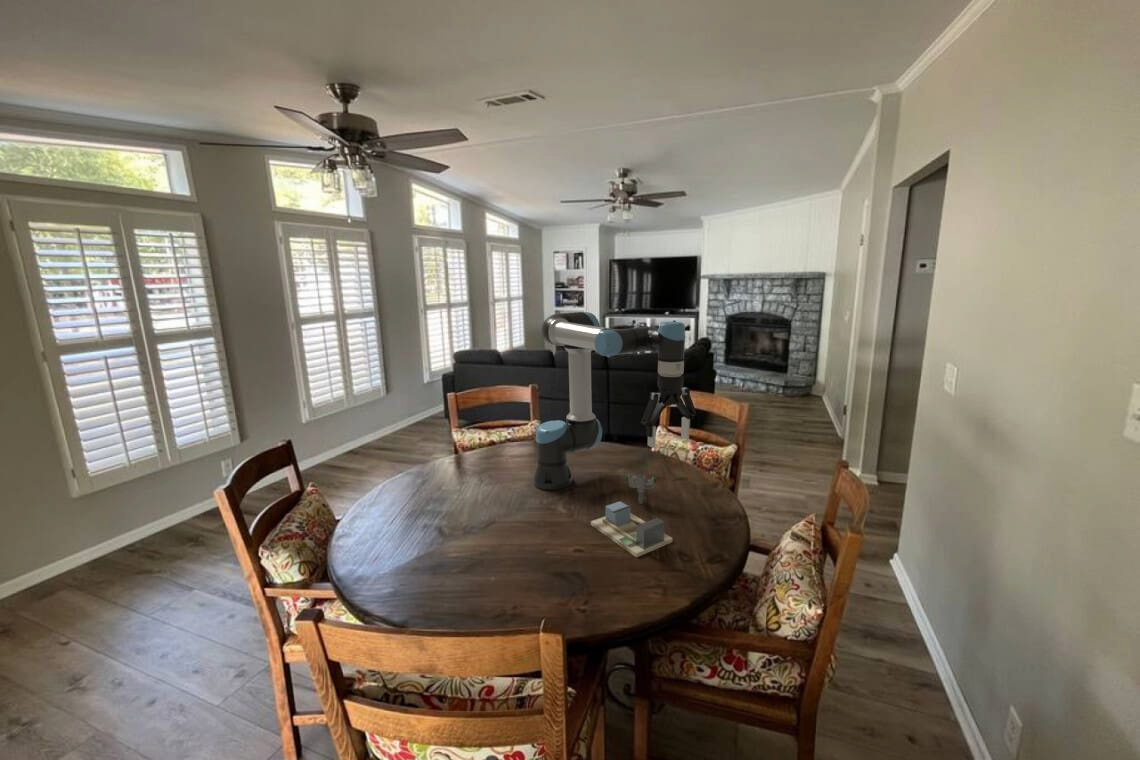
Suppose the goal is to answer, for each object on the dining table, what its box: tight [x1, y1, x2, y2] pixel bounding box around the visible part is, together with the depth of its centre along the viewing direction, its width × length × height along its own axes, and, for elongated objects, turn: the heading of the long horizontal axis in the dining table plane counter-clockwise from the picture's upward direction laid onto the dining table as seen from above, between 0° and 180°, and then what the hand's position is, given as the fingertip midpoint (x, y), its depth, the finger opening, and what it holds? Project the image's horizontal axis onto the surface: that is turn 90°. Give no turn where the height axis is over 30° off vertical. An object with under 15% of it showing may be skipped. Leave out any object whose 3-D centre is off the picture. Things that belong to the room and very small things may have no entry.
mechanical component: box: [625, 473, 657, 505], centre depth 163 cm, size 3×10×10 cm, turn 78°
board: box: [590, 512, 673, 558], centre depth 144 cm, size 22×14×2 cm, turn 33°
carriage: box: [604, 501, 632, 526], centre depth 149 cm, size 5×7×5 cm
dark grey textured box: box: [636, 517, 665, 549], centre depth 136 cm, size 3×8×6 cm, turn 123°
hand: (668, 442), depth 144 cm, fingers open, 13 cm apart
